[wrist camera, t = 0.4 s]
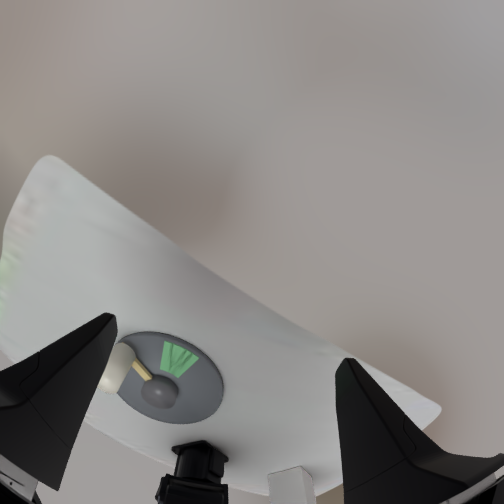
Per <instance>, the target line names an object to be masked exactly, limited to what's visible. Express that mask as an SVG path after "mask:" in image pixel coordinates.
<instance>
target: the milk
mask: <svg viewBox="0 0 504 504" xmlns="http://www.w3.org/2000/svg"><path fill="white" fill-rule="evenodd" d="M268 480H269V494H270V504H317V503H316V498H315V492H314V487H313V482H312V477H311V476H310V475H309V474H308V473H307V472H306V471H305V470H304V469H303V468H302V467H301V466H299V467H296V468H292V469H289V470H285V471H281V472H277V473H273V474H269V475H268Z"/></svg>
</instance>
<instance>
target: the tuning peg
mask: <svg viewBox="0 0 504 504" xmlns="http://www.w3.org/2000/svg"><path fill="white" fill-rule="evenodd" d="M131 366H132V367H133V368H134V369H135V370H136V371H137V372H138V373H139V375H140V376H141V377H142V378H143V379H144V380H145V382H144V384H143V386H142V389H141V396H142V398H143V399H144V400H145V401H146V402H147V403H148V404H149V405H151V406H153V407H156V408H159V409H169V408H172V407H173V406H174V405H175V402H176V399H177V395H178V388H177V386H176V385H175V384H174V383H173V382H172V381H171V380H169V379H168V378H166V377H163V376H159V375H151V374H150V373H149V372H148V371H147V370H146V368H145V367H144V366H143V365H142V364H141V363H140V362H139V361H138V359H137V358H136V355H135V352H134V351H133V349H132V348H131V347H130V346H128V345H126V344H124V343H123V342H122V343H117V344H116V345H115V346H114V347H113V349H112V351H111V354H110V357H109V360H108V363H107V366H106V368H105V371H104V373H103V375H102V377H101V379H100V382H99V384H98V386H97V387H98V388H99V389H100V390H102V391H103V392H105V393H108V394H115V393H117V391H118V390H119V388H120V386H121V384H122V382H123V380H124V378H125V377H126V375H127V373H128V371H129V369H130V368H131Z"/></svg>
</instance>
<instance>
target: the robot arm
mask: <svg viewBox="0 0 504 504" xmlns="http://www.w3.org/2000/svg"><path fill="white" fill-rule="evenodd" d="M117 333H118V329H117V322H116V316H115V315H114V314H110V313H107V312H106V313H103V314H101V315H100V316H98V317H96V318H94V319H93V320H91V321H89V322H87V323H86V324H84V325H82V326H81V327H79V328H77V329H75V330H74V331H72V332H70V333H69V334H67V335H65V336H64V337H62V338H60V339H58V340H57V341H55V342H53V343H52V344H50V345H48V346H47V347H45V348H43V349H42V350H40V352H39V351H38V352H36V353H35V354H33V355H31V356H30V357H28V358H26V359H24V360H23V361H21V362H19V363H17V364H15V365H13V366H10V367H8V368H6V369H4V370H2V371H0V504H42V503H41V501H40V499H39V497H38V495H37V493H36V491H35V489H36V487H37V484H38V481H40V482H42V483H44V484H45V485H47V486H49V487H51V488H52V489H54V490H56V491H58V490H59V488H60V484H61V481H62V477H63V475H64V471H65V468H66V465H67V462H68V459H69V457H70V454H71V450H72V448H73V445H74V442H75V440H76V437H77V434H78V432H79V429H80V427H81V424H82V421H83V419H84V417H85V414H86V412H87V409H88V407H89V404H90V402H91V400H92V397H93V395H94V393H95V391H96V388H97V386H98V384H99V382H100V379H101V377H102V375H103V373H104V371H105V368H106V366H107V363H108V360H109V357H110V354H111V351H112V348H113V345H114V342H115V340H116V337H117ZM335 386H336V413H337V421H338V430H339V439H340V449H341V461H342V473H343V486H344V487H343V488H344V504H504V475H502V476H501V477H499V478H498V479H496V477H495V474H494V472H495V471H497V470H498V469H499V468H501V467H502V466H504V454H502V453H500V454H498V455H496V456H494V457H491V458H482V457H471V456H463V455H456V454H451V453H448V452H446V451H444V450H443V449H441V448H440V447H439V446H438V445H437V444H436V443H435V442H433V441H432V440H431V439H430V438H429V437H428V436H427V435H426V434H425V433H424V432H422V431H421V430H420V429H419V428H418V427H417V426H416V425H415V424H414V423H413V422H412V421H411V419H410V418H409V417H408V416H407V415H406V414H405V413H404V412H403V411H402V410H401V409H400V407H399V406H398V405H397V404H396V403H395V402H394V401H393V400H392V399H391V398H390V397H389V395H388V394H387V393H386V392H385V391H384V390H383V389H382V388H381V387H380V386H379V385H378V383H377V382H376V381H375V380H374V379H373V378H372V377H371V376H370V375H369V374H368V372H367V371H366V370H365V369H364V368H363V367H362V366H361V365H360V364H359V363H358V362H357V360H356V359H354V358H345V359H343V361H342V362H341V364H340V366H339V367H338V369H337V370H336V373H335ZM171 450H172V451H173V452H174V453H175V454H177V455H178V457H177V462H176V467H175V472H174V476H173V475H170V474H166V476H165V477H162V478H161V482H160V486H159V488H158V491H157V493H156V496H155V499H156V500H157V502H158V504H228V484H221V478H222V477H223V475H224V463H225V462H228V461H229V459H228V458H227V457H226V456H224V455H223V454H222V453H220V452H219V451H218V450H216V449H215V448H214V447H212V446H211V445H210V444H208V443H207V442H206V441H199V442H195V443H190V444H186V445H181V446H176V447H172V449H171Z"/></svg>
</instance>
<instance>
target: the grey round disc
mask: <svg viewBox="0 0 504 504" xmlns="http://www.w3.org/2000/svg"><path fill="white" fill-rule="evenodd" d="M122 342H123V343H124V344H126V345H128V346H130V347H131V348H132V349H133V351H134V352H135V355H136V358H137V359H138V361H139V362H140V363H141V364H142V365H143V366H144V367H145V368H146V370H147V371H148V372H149V373H150V374H151V375H159V376H163V377H166V378H168V379H169V380H171V381H172V382H173V383H174V384H175V385H176V386H177V388H178V395H177V399H176V402H175V405H174V406H173V407H172V408H169V409H159V408H156V407H153V406H151V405H149V404H148V403H147V402H146V401H145V400H144V399H143V398H142V396H141V389H142V386H143V384H144V382H145V380H144V379H143V378H142V377H141V376H140V375H139V373H138V372H137V371H136V370H135V369H134V368H133V367H132V366H131V368H130V369H129V371H128V373H127V375H126V377H125V378H124V380H123V382H122V384H121V386H120V388H119V390H118V391H117V394H118V395H119V396H120V397H121V398H122V399H123V400H124V401H125V402H126V403H127V404H128V405H129V406H131V407H132V408H133V409H135V410H136V411H138V412H140V413H141V414H143V415H145V416H147V417H150V418H152V419H155V420H158V421H162V422H166V423H172V424H190V423H195V422H199V421H202V420H204V419H206V418H208V417H210V416H211V415H213V414H214V413H215V412H216V411H217V409H218V408H219V406H220V404H221V401H222V396H223V383H222V378H221V376H220V373H219V371H218V370H217V368H216V366H215V365H214V364H213V362H212V361H211V360H210V359H209V358H208V357H207V356H206V355H205V354H204V353H203V352H201V351H200V350H199V349H197V348H196V347H194V346H193V345H191V344H189V343H187V342H186V341H184V340H181V339H179V338H177V337H174V336H171V335H167V334H163V333H156V332H139V333H134V334H130V335H128V336H126V337H124V338H122V339H121V340H120V341H119V342H117V343H122ZM117 343H116V344H117Z"/></svg>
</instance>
